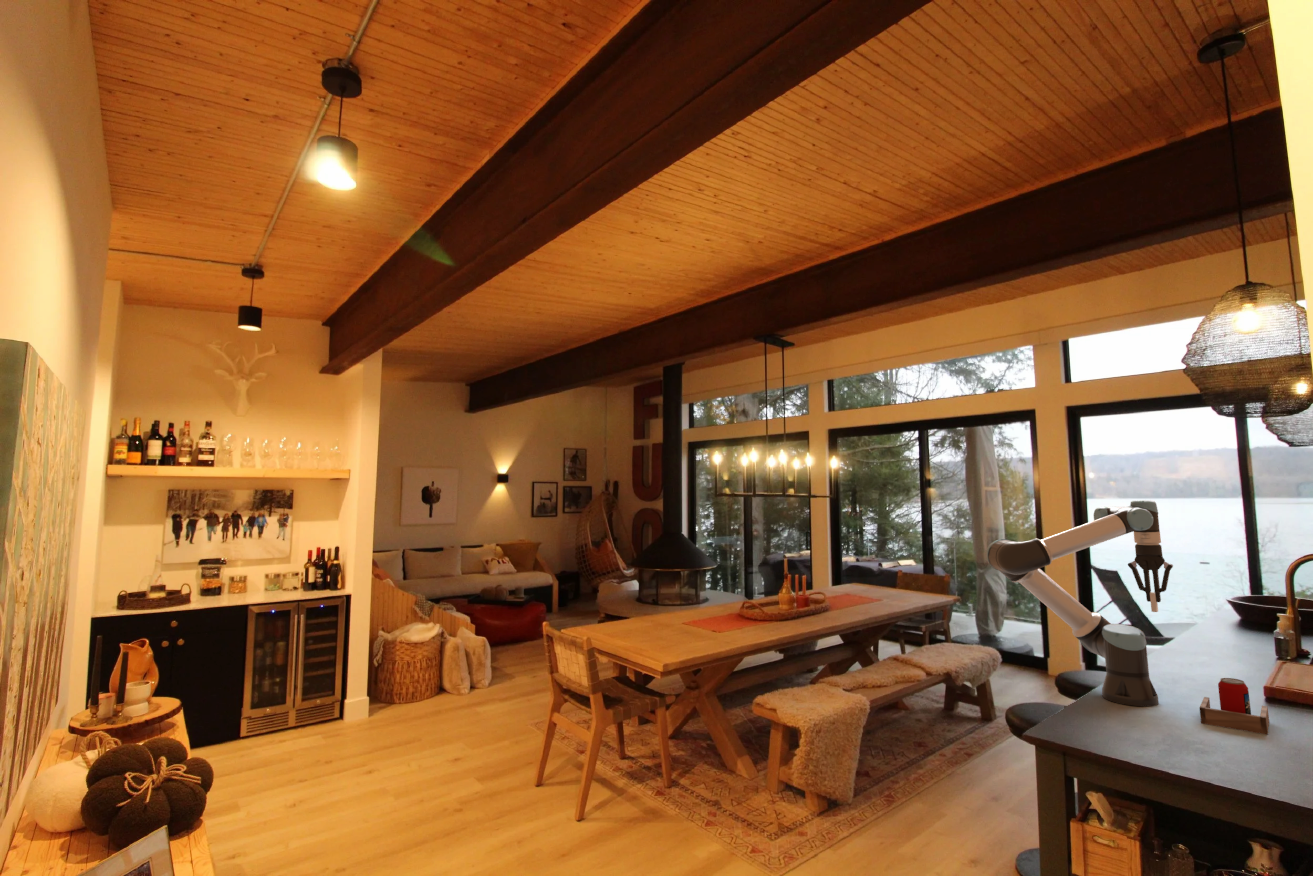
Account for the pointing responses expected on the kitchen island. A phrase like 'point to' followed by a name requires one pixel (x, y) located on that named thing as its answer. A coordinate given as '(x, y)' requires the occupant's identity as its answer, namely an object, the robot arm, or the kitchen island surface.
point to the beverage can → (1234, 696)
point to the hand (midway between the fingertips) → (1154, 611)
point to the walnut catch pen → (1234, 718)
